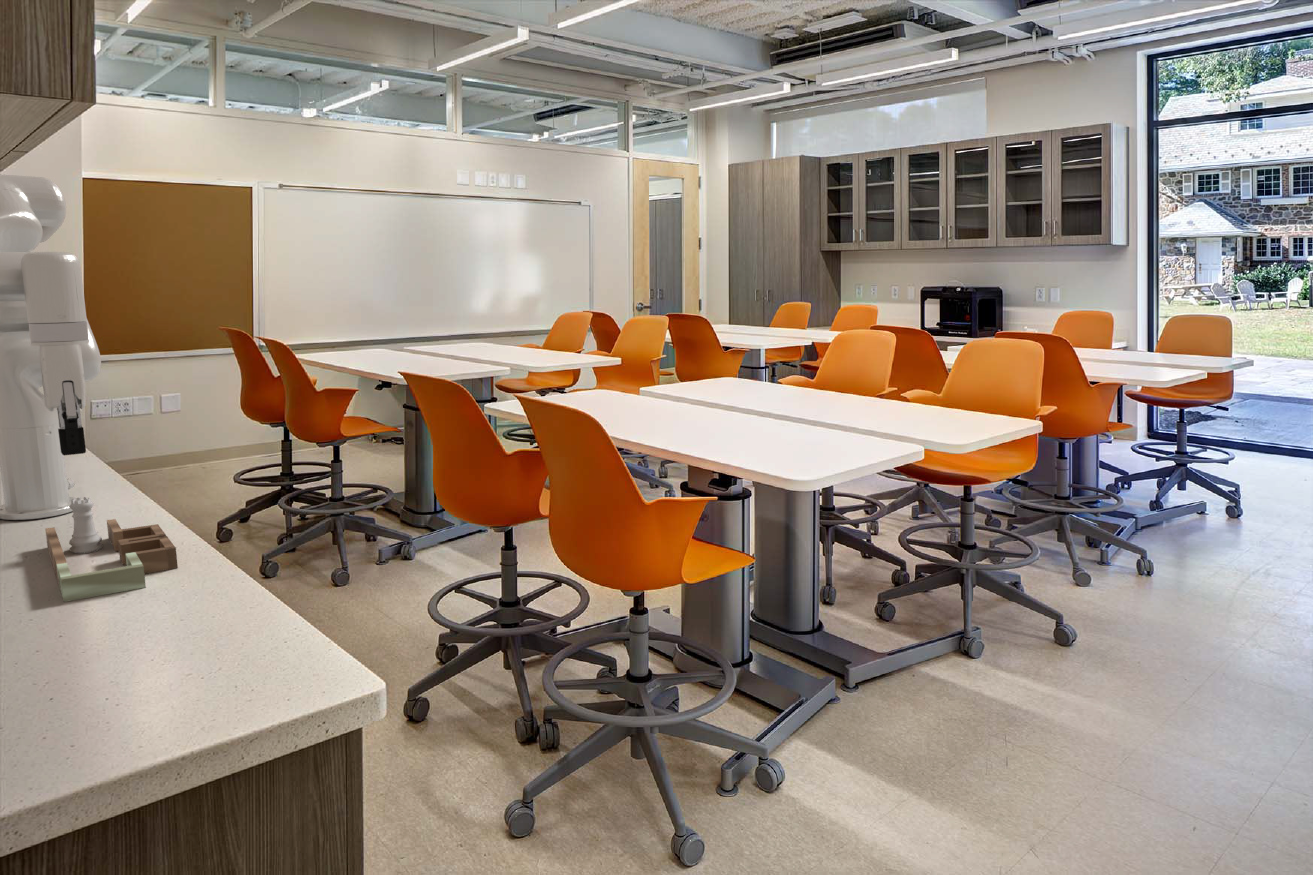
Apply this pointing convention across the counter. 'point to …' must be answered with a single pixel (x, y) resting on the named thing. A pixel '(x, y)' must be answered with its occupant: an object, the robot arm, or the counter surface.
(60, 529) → the counter surface
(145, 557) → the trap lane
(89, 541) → the rook chess piece
